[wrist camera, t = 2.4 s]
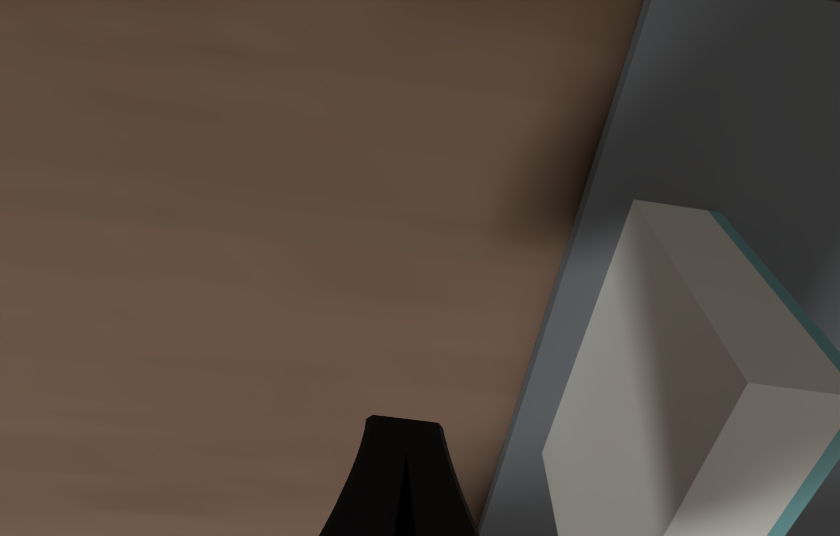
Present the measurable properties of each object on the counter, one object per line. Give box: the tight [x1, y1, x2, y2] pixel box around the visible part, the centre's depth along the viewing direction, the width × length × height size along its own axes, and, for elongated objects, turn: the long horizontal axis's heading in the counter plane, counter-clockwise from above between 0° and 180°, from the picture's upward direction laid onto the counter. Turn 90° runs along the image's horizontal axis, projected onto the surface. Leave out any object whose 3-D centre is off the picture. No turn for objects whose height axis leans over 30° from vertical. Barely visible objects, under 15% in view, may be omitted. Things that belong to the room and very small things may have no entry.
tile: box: [542, 199, 840, 536], centre depth 14 cm, size 8×2×6 cm, turn 171°
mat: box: [477, 0, 840, 536], centre depth 17 cm, size 17×13×1 cm
